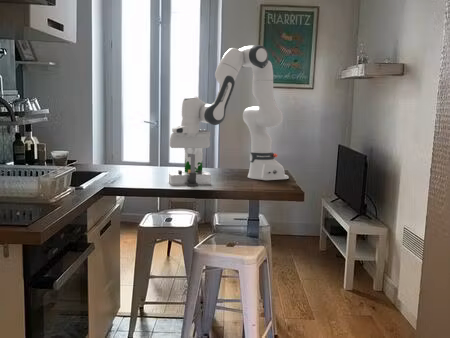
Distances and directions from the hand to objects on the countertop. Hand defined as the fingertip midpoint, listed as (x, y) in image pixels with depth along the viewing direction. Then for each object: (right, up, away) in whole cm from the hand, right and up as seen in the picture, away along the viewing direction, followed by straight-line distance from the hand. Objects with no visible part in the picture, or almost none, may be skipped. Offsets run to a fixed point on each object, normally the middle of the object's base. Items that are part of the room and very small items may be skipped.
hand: (189, 157), depth 250 cm
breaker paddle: (0, -8, +1) cm, 8 cm away
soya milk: (+1, -12, +13) cm, 18 cm away
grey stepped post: (+2, -14, -5) cm, 15 cm away
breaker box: (0, -13, +2) cm, 14 cm away
